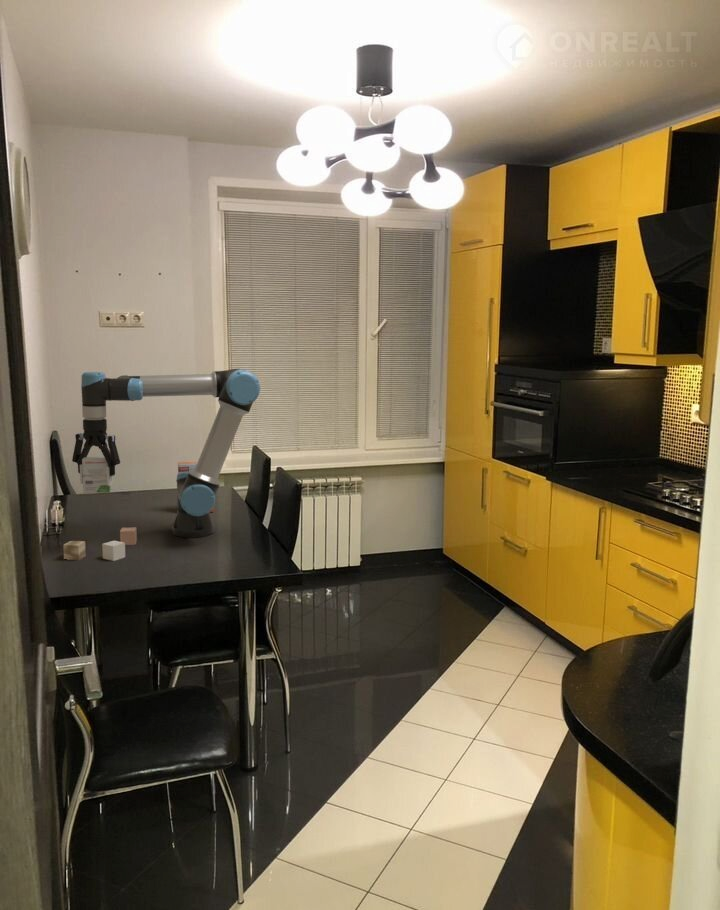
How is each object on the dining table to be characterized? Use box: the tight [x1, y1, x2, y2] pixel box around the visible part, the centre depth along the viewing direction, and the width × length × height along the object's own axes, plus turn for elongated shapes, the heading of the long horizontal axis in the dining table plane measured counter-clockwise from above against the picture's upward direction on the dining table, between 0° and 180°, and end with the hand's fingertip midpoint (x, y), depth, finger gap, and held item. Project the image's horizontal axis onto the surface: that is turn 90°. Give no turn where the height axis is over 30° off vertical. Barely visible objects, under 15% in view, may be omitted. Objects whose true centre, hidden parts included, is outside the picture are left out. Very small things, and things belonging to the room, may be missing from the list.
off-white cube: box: [101, 540, 126, 562], centre depth 242 cm, size 5×5×5 cm
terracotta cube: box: [119, 526, 138, 546], centre depth 260 cm, size 5×5×5 cm
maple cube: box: [62, 540, 87, 561], centre depth 241 cm, size 5×5×5 cm
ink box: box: [82, 456, 111, 494], centre depth 249 cm, size 8×5×12 cm, turn 105°
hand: (96, 483), depth 249 cm, fingers closed on ink box, 9 cm apart
